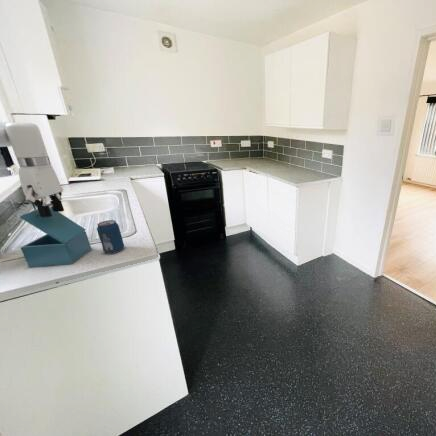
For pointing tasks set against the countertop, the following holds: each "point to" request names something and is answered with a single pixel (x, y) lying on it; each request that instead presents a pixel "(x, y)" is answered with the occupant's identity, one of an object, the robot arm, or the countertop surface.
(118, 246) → the soda can
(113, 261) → the countertop surface
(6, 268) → the countertop surface
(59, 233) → the freezer lid
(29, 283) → the countertop surface
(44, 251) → the box
